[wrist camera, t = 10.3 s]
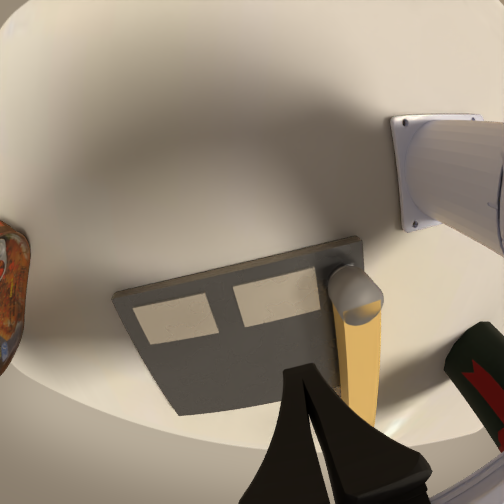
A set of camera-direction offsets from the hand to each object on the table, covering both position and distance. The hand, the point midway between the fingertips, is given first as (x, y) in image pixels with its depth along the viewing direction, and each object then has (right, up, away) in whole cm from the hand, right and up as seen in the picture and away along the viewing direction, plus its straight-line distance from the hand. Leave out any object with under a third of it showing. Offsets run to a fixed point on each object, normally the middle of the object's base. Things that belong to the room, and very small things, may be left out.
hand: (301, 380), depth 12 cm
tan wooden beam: (+6, -3, +9) cm, 11 cm away
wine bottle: (+22, -5, +13) cm, 25 cm away
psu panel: (-2, -1, +9) cm, 10 cm away
